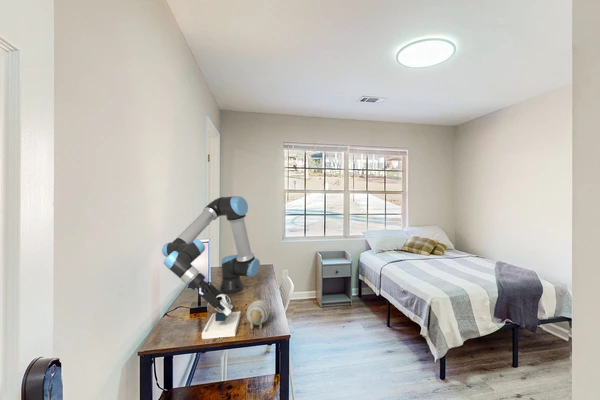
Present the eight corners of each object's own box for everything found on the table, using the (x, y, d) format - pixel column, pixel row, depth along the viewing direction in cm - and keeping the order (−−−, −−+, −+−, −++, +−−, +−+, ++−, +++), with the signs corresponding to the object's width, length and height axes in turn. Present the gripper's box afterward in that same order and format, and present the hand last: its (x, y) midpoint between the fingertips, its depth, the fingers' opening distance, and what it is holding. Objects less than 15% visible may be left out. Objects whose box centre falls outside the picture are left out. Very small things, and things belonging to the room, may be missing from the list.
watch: (228, 320, 117) (228, 296, 117) (211, 321, 117) (211, 297, 117) (232, 315, 122) (232, 292, 123) (215, 316, 122) (215, 293, 123)
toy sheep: (243, 333, 112) (243, 308, 112) (250, 317, 129) (250, 295, 129) (267, 332, 112) (266, 307, 113) (271, 316, 129) (270, 294, 129)
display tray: (212, 318, 129) (212, 313, 129) (240, 316, 130) (240, 311, 130) (201, 339, 109) (201, 333, 109) (235, 336, 110) (234, 330, 111)
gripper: (193, 278, 127) (227, 309, 128) (180, 290, 109) (221, 325, 111) (204, 267, 128) (238, 298, 129) (193, 277, 110) (233, 312, 111)
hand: (230, 310), depth 120 cm, fingers closed on watch, 5 cm apart
